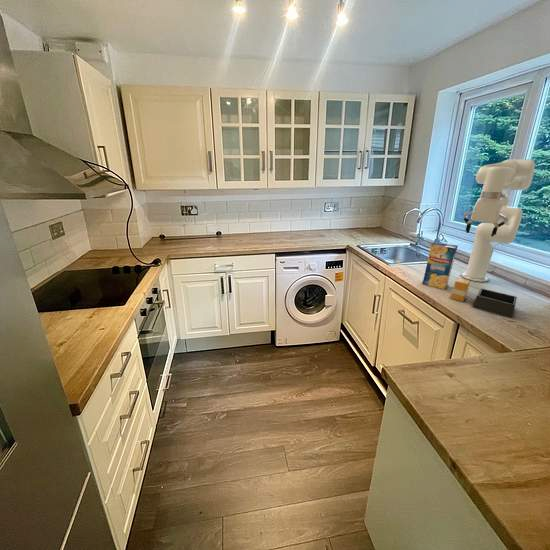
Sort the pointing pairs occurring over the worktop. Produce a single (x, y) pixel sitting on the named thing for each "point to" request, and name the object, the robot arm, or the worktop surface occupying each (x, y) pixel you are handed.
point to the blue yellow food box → (439, 264)
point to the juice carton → (460, 289)
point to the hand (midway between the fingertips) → (479, 234)
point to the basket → (495, 302)
